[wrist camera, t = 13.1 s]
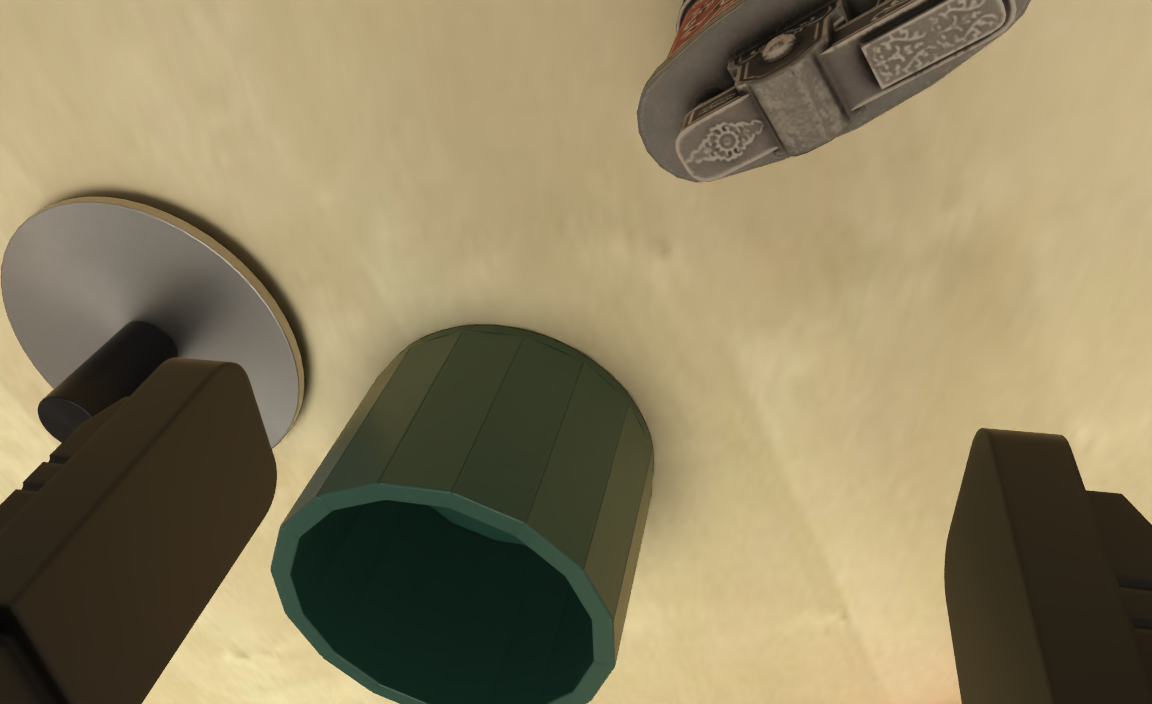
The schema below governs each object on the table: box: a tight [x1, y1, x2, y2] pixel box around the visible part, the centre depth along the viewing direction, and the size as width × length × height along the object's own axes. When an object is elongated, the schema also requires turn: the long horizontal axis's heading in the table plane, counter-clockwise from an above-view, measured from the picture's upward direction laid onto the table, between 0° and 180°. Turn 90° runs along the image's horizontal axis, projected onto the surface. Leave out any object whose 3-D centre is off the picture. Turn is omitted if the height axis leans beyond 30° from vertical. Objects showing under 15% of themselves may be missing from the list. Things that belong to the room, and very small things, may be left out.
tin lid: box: [1, 197, 304, 449], centre depth 34 cm, size 12×12×6 cm
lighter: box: [637, 0, 1031, 182], centre depth 20 cm, size 8×3×10 cm, turn 125°
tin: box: [271, 325, 654, 704], centre depth 33 cm, size 11×11×8 cm
